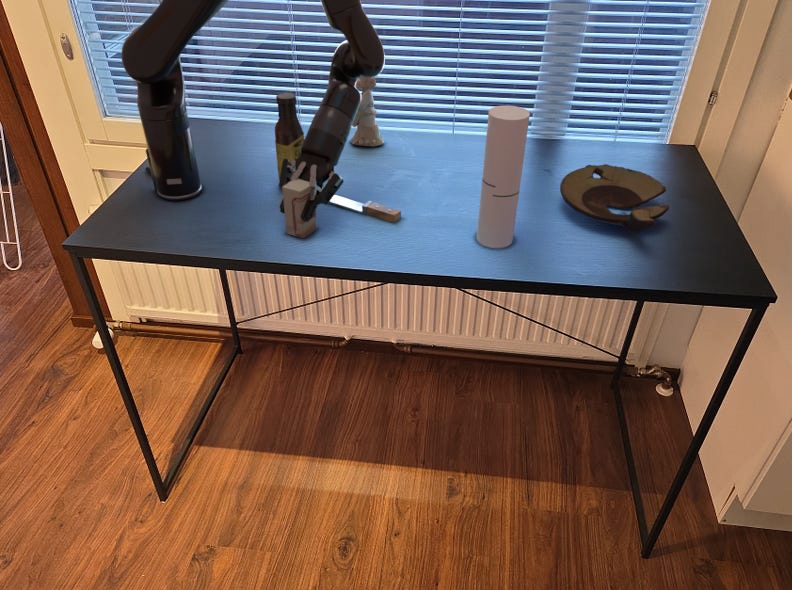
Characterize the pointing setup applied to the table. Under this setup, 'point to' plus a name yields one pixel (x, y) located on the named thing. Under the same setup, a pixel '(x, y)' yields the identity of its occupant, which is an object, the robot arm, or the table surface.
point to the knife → (368, 208)
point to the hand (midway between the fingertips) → (294, 216)
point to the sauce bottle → (287, 130)
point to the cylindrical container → (502, 175)
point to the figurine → (366, 116)
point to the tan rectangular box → (297, 208)
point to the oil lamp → (613, 195)
